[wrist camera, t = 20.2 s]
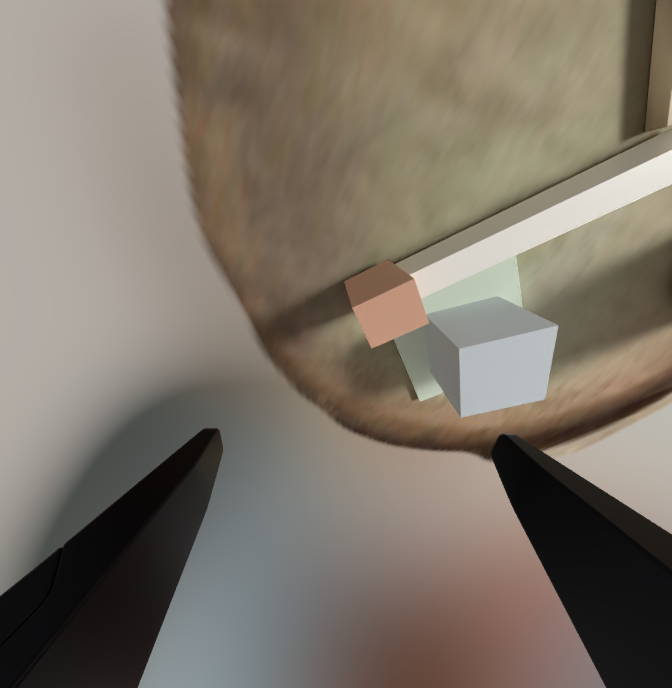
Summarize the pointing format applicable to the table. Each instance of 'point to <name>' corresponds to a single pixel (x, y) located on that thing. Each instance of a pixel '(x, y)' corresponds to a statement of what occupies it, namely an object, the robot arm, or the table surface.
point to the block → (490, 355)
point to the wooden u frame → (660, 70)
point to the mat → (468, 290)
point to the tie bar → (503, 238)
